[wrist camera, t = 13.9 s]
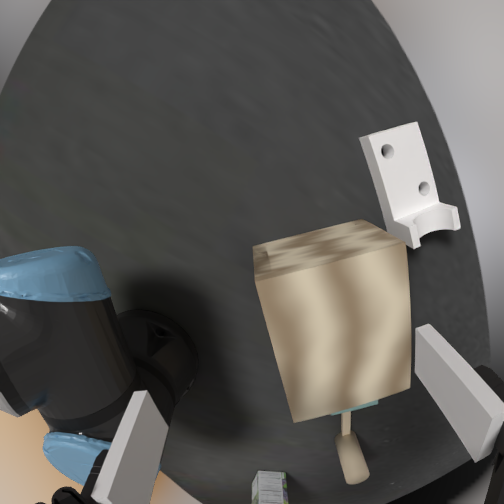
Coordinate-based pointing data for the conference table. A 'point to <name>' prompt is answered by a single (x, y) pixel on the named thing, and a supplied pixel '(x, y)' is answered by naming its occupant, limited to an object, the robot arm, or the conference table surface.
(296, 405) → the wooden frame
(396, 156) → the bracket
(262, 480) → the syrup box
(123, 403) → the robot arm
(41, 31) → the conference table surface
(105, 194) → the conference table surface
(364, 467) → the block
